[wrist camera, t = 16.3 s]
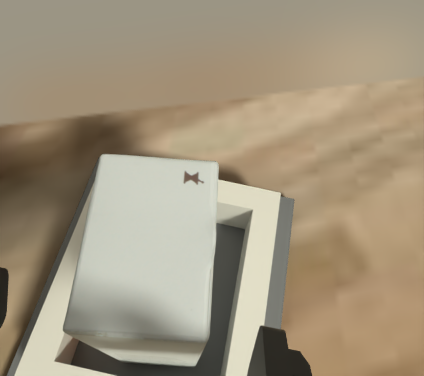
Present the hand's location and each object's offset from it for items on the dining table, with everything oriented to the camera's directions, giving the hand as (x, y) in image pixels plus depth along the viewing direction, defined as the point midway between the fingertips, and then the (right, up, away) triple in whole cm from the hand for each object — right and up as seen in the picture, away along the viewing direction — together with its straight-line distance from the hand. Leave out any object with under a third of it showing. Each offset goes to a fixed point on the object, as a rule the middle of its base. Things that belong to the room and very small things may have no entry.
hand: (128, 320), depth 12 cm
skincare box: (0, -3, +10) cm, 11 cm away
